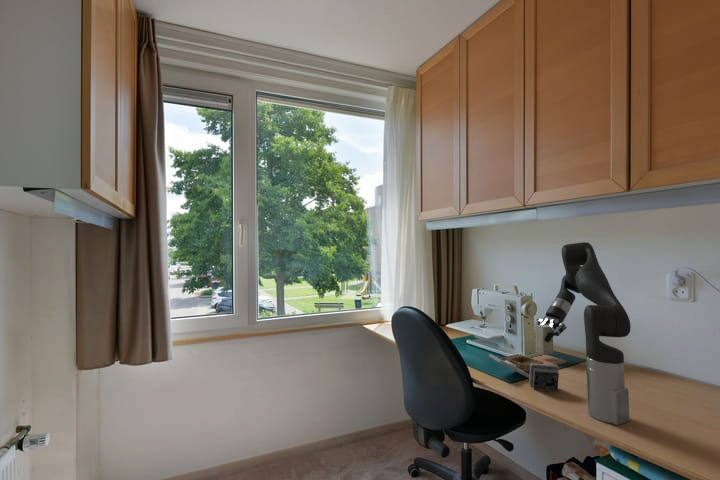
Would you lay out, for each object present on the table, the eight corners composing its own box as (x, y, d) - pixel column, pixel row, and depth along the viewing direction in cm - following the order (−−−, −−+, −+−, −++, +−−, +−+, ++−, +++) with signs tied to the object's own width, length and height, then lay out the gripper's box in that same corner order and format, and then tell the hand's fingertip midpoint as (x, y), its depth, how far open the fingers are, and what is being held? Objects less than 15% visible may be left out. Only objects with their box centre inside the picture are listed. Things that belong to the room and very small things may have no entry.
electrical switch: (557, 387, 122) (556, 363, 122) (561, 395, 117) (561, 369, 117) (528, 385, 125) (528, 361, 124) (532, 392, 120) (532, 367, 119)
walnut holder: (543, 369, 141) (542, 362, 141) (526, 373, 137) (525, 365, 137) (519, 360, 152) (518, 353, 152) (502, 364, 147) (502, 357, 148)
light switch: (532, 374, 131) (501, 358, 129) (526, 388, 130) (495, 372, 129) (519, 366, 139) (490, 351, 138) (513, 379, 139) (484, 364, 137)
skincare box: (543, 354, 148) (543, 327, 148) (535, 351, 152) (534, 325, 152) (553, 353, 150) (553, 325, 150) (545, 350, 155) (544, 323, 155)
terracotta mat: (566, 362, 148) (566, 361, 148) (547, 367, 143) (547, 365, 143) (541, 355, 159) (541, 353, 159) (523, 358, 154) (523, 357, 154)
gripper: (540, 302, 161) (523, 331, 156) (569, 307, 148) (551, 338, 143) (548, 312, 163) (531, 341, 158) (577, 318, 150) (560, 349, 145)
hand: (541, 339), depth 151 cm, fingers closed on skincare box, 4 cm apart
